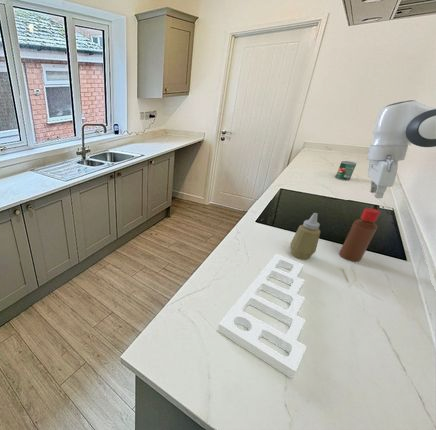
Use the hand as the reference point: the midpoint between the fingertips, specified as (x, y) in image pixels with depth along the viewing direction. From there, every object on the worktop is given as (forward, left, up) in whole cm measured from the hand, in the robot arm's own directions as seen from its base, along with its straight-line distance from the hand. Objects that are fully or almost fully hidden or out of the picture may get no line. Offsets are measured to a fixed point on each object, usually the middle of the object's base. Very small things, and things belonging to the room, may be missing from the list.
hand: (375, 195), depth 91 cm
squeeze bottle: (+17, +10, -24) cm, 32 cm away
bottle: (0, +3, -24) cm, 24 cm away
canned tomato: (-21, -105, -24) cm, 110 cm away
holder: (+26, +41, -24) cm, 54 cm away
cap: (0, +3, -8) cm, 9 cm away
